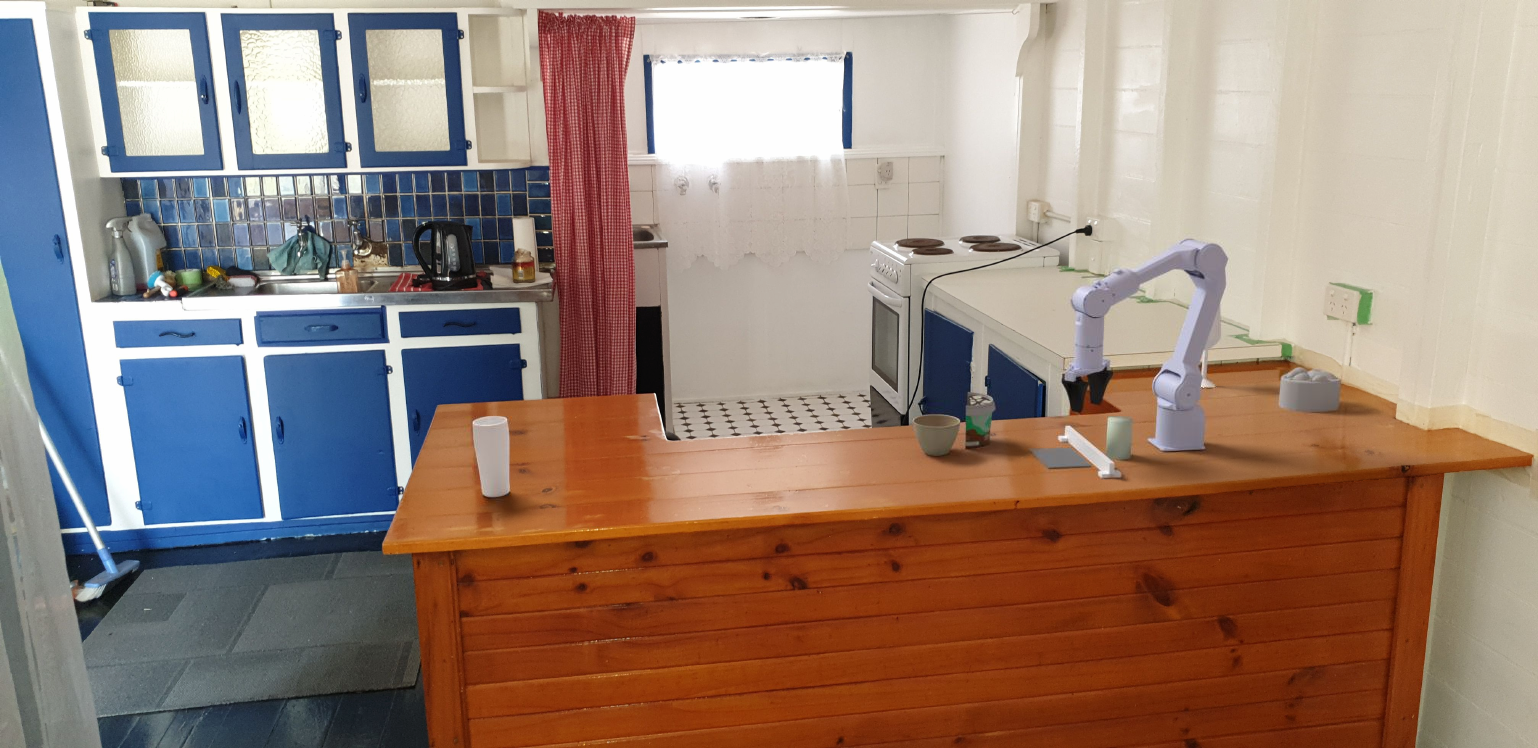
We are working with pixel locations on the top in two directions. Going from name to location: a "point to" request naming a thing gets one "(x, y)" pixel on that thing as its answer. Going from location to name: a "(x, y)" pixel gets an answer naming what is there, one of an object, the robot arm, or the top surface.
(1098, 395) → the robot arm
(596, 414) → the top surface
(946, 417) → the flower pot
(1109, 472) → the low wall
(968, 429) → the food container
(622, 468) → the top surface
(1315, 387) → the lumpy-topped squat cylinder
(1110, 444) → the green cylinder
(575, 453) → the top surface
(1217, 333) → the champagne flute
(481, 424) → the drinking glass
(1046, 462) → the mat
